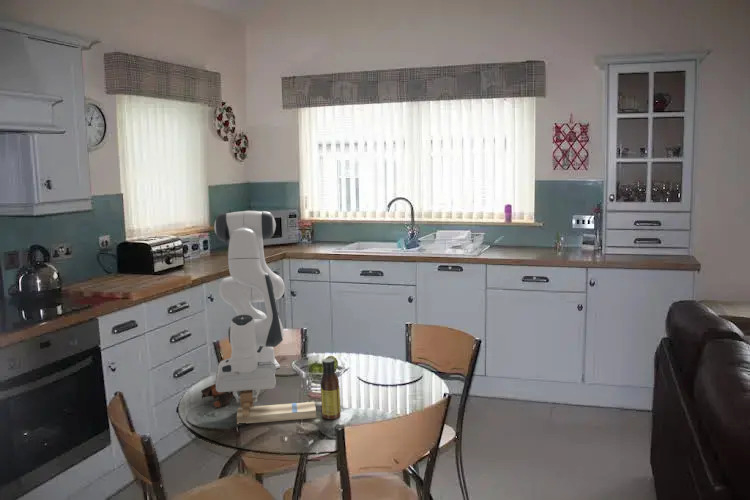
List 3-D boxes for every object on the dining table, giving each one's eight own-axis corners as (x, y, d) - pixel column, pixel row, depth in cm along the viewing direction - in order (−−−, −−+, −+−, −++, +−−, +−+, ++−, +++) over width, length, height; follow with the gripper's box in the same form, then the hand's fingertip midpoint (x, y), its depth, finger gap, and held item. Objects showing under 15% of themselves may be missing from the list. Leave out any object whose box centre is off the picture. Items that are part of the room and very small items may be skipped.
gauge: (242, 408, 237) (240, 386, 235) (253, 407, 237) (252, 385, 236) (239, 425, 222) (238, 403, 221) (252, 424, 223) (251, 402, 221)
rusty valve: (207, 412, 235) (199, 390, 237) (207, 414, 244) (198, 393, 245) (240, 397, 239) (231, 376, 241) (239, 400, 248) (230, 379, 250)
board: (238, 414, 231) (237, 407, 231) (314, 408, 235) (314, 401, 234) (237, 424, 223) (236, 416, 223) (316, 417, 227) (316, 410, 227)
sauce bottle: (331, 411, 232) (329, 355, 229) (344, 415, 228) (342, 358, 225) (317, 417, 227) (315, 360, 224) (331, 422, 223) (329, 364, 220)
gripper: (275, 358, 236) (277, 396, 239) (215, 362, 233) (217, 400, 236) (275, 364, 230) (277, 402, 232) (213, 368, 227) (216, 407, 230)
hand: (247, 401), depth 234 cm, fingers closed on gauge, 4 cm apart
